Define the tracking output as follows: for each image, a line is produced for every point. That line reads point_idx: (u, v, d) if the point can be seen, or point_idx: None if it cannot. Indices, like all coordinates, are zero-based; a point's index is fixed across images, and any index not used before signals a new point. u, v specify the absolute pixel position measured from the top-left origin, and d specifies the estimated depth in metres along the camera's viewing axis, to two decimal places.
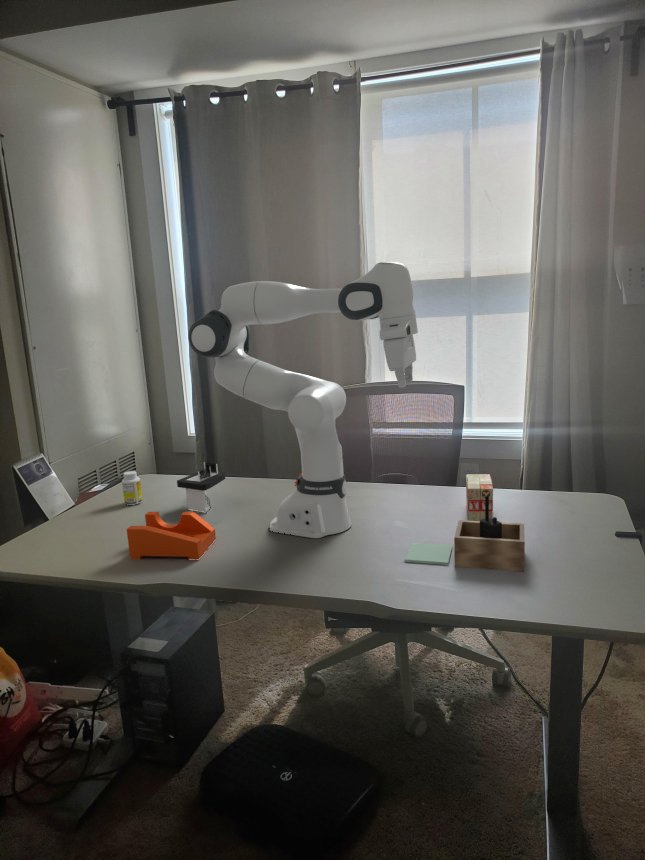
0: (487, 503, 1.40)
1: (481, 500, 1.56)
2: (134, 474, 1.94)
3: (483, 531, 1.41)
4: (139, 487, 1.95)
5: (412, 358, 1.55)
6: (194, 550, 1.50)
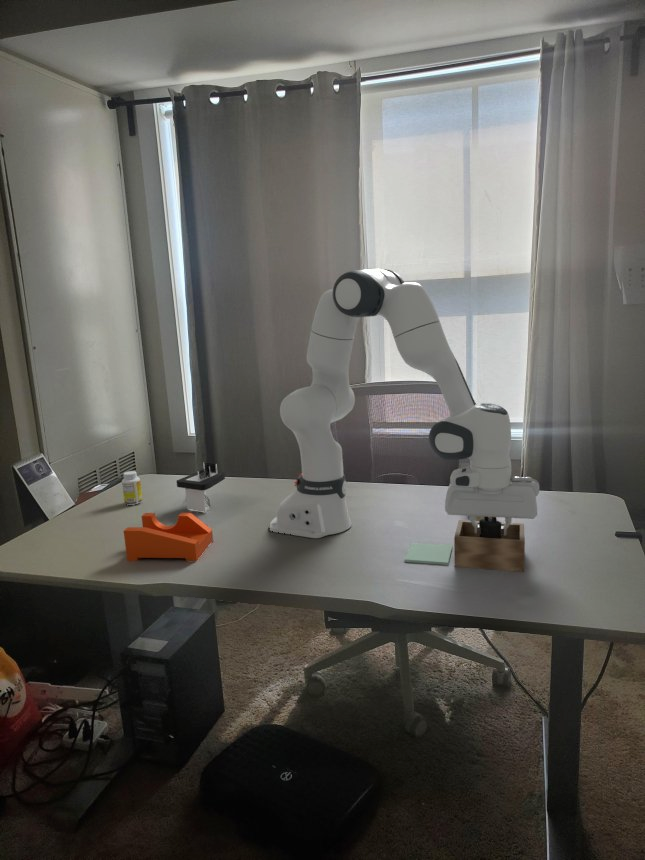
0: None
1: None
2: (134, 474, 1.94)
3: (483, 531, 1.41)
4: (139, 487, 1.95)
5: (505, 512, 1.37)
6: (192, 551, 1.50)
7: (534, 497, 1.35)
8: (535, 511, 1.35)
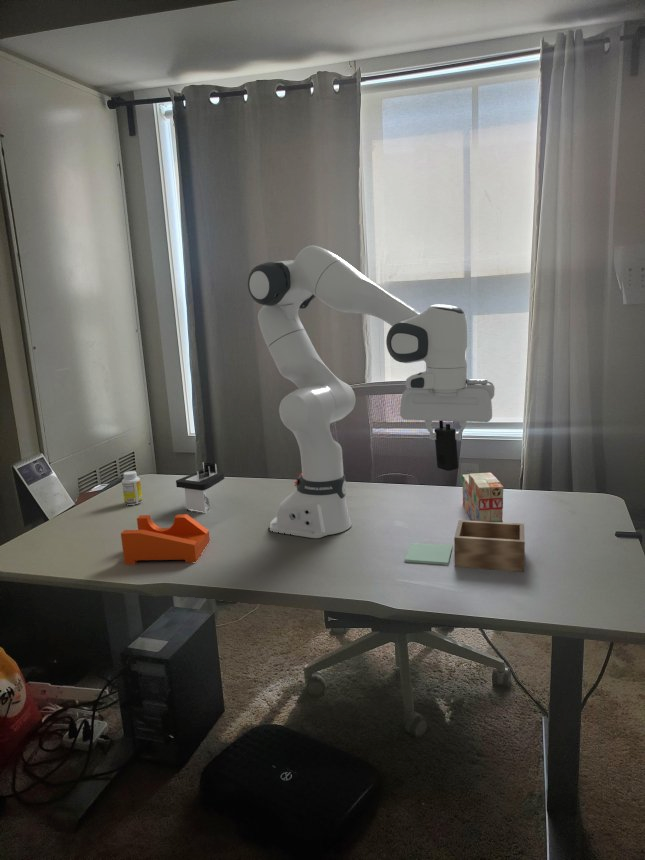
0: None
1: (492, 498, 1.57)
2: (134, 474, 1.94)
3: (437, 439, 1.39)
4: (139, 487, 1.95)
5: (460, 416, 1.36)
6: (192, 552, 1.49)
7: (489, 399, 1.33)
8: (489, 414, 1.34)
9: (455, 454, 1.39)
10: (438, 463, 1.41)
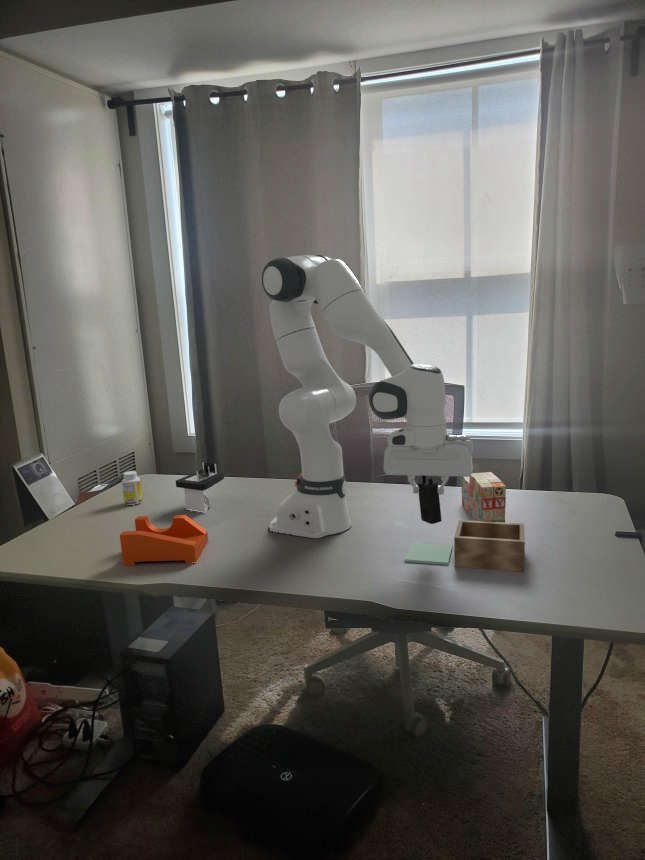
0: None
1: (494, 498, 1.57)
2: (134, 474, 1.94)
3: (420, 493, 1.43)
4: (139, 487, 1.95)
5: (441, 471, 1.40)
6: (191, 553, 1.49)
7: (468, 455, 1.37)
8: (469, 469, 1.38)
9: (438, 508, 1.42)
10: (422, 516, 1.45)
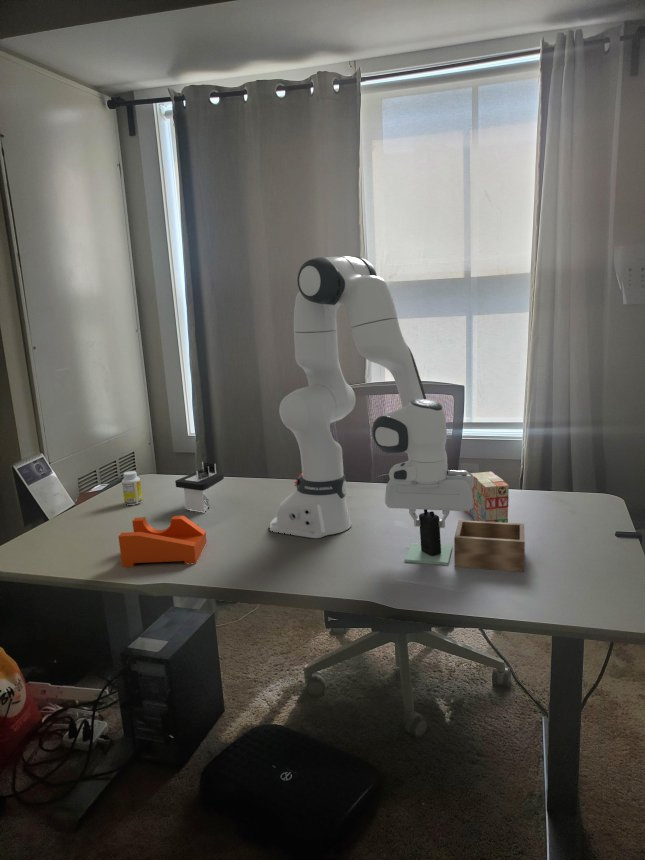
0: None
1: (497, 497, 1.57)
2: (134, 474, 1.94)
3: (422, 525, 1.45)
4: (139, 487, 1.95)
5: (442, 505, 1.41)
6: (191, 554, 1.48)
7: (469, 490, 1.39)
8: (470, 504, 1.39)
9: (438, 540, 1.44)
10: (422, 547, 1.47)
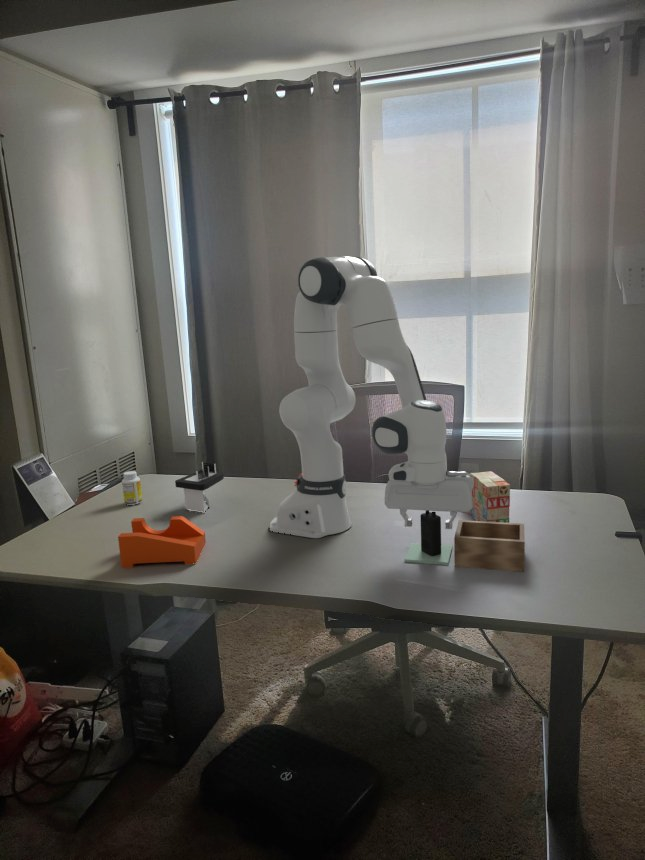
0: None
1: (499, 497, 1.57)
2: (134, 474, 1.94)
3: (423, 525, 1.45)
4: (139, 487, 1.95)
5: (441, 506, 1.41)
6: (191, 554, 1.48)
7: (468, 491, 1.39)
8: (469, 505, 1.39)
9: (439, 541, 1.44)
10: (422, 547, 1.47)
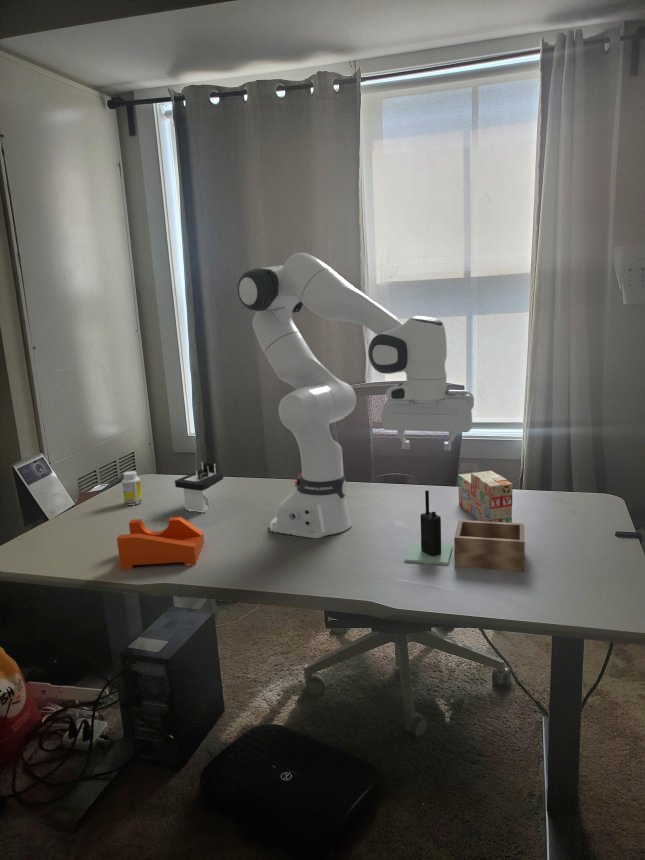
0: (427, 498, 1.44)
1: (502, 496, 1.58)
2: (134, 474, 1.94)
3: (423, 525, 1.45)
4: (139, 487, 1.95)
5: (440, 426, 1.37)
6: (191, 555, 1.48)
7: (468, 410, 1.35)
8: (469, 424, 1.35)
9: (439, 541, 1.44)
10: (422, 547, 1.47)
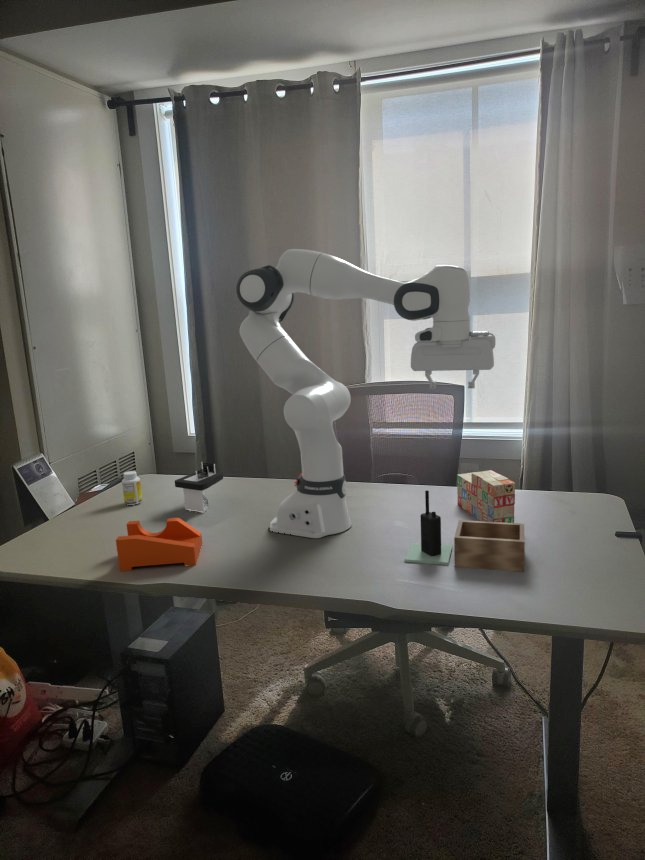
0: (427, 498, 1.44)
1: (505, 495, 1.58)
2: (134, 474, 1.94)
3: (423, 525, 1.45)
4: (139, 487, 1.95)
5: (465, 365, 1.50)
6: (191, 555, 1.48)
7: (490, 348, 1.48)
8: (491, 362, 1.49)
9: (439, 541, 1.44)
10: (422, 547, 1.47)
